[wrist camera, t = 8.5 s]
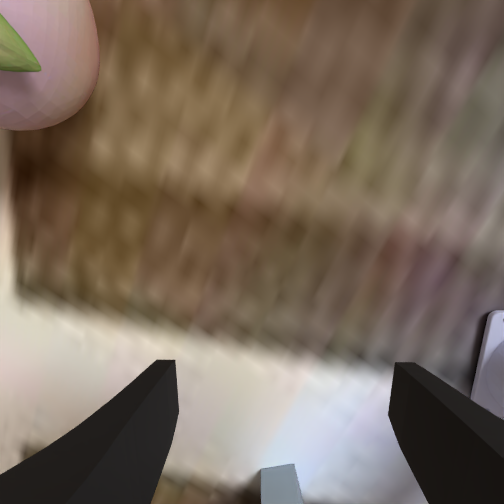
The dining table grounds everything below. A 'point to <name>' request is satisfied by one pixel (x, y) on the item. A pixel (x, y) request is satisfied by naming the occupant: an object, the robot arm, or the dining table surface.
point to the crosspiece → (280, 485)
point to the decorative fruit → (45, 61)
